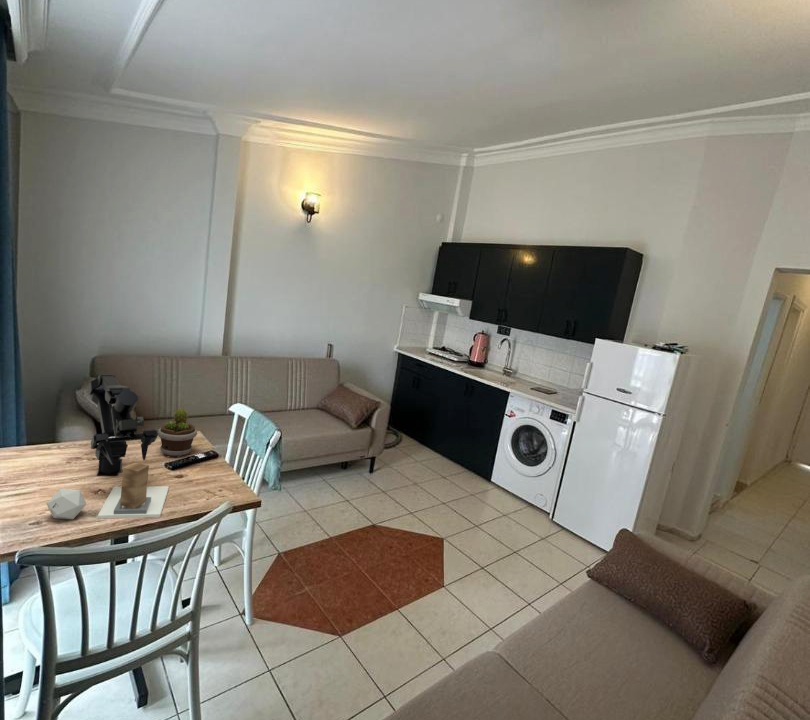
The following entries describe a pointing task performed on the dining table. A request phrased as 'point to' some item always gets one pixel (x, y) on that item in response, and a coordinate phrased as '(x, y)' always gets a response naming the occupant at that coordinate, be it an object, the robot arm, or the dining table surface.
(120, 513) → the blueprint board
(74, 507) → the die
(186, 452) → the flowerpot
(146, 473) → the brown paper bag
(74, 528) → the dining table surface
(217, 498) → the dining table surface
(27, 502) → the dining table surface
